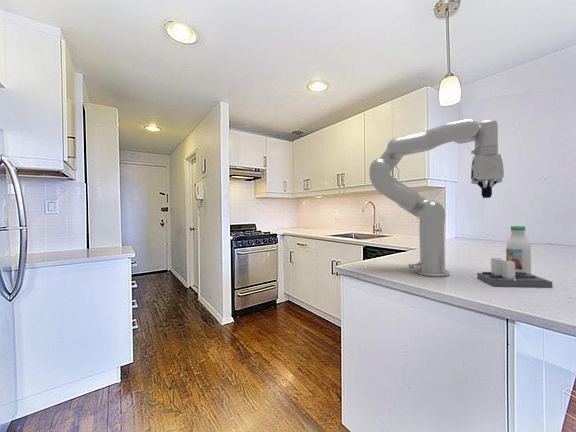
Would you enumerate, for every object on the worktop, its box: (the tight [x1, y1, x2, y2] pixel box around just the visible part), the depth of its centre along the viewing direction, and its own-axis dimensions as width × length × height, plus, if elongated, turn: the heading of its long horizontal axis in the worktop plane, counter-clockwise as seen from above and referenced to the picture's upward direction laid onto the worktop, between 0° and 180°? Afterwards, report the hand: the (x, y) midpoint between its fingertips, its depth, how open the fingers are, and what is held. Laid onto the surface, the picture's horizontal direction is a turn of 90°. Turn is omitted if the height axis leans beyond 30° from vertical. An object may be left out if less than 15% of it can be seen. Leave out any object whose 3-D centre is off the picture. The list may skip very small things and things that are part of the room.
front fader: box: [502, 260, 515, 279], centre depth 98 cm, size 2×4×6 cm
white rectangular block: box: [490, 257, 505, 275], centre depth 103 cm, size 2×4×6 cm
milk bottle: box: [505, 225, 532, 274], centre depth 110 cm, size 8×8×20 cm
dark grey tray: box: [476, 271, 553, 289], centre depth 100 cm, size 18×12×3 cm, turn 79°
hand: (486, 197), depth 109 cm, fingers closed
